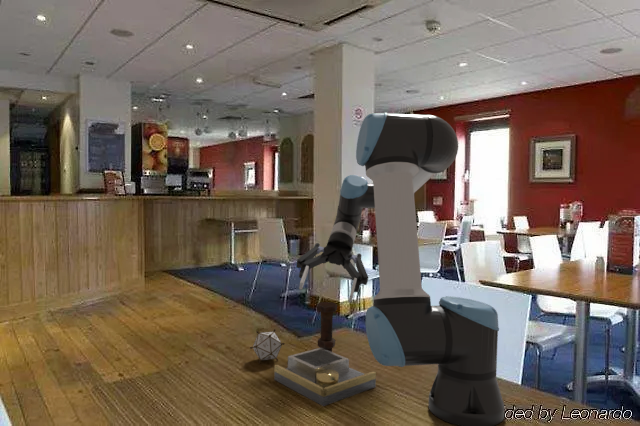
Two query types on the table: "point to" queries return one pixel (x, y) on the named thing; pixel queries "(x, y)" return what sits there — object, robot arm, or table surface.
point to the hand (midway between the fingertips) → (325, 292)
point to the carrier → (323, 376)
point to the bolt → (326, 325)
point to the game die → (267, 345)
